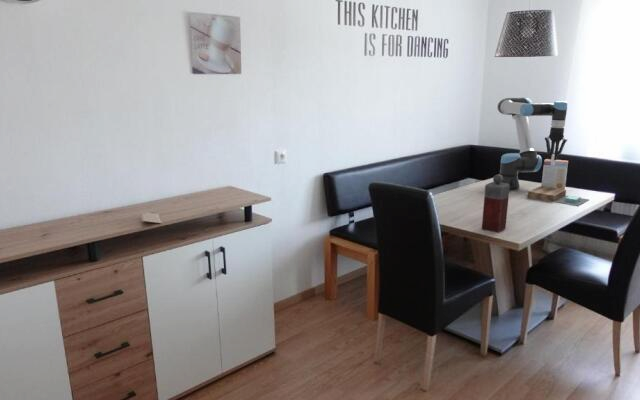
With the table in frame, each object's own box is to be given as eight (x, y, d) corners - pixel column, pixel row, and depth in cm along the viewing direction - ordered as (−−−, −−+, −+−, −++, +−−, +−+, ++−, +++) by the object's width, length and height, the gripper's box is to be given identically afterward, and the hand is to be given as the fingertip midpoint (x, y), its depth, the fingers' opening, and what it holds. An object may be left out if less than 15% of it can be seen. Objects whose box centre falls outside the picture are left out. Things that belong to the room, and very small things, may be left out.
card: (575, 199, 287) (575, 202, 288) (580, 197, 294) (580, 200, 294) (565, 198, 292) (564, 201, 292) (570, 195, 298) (570, 198, 298)
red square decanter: (507, 227, 244) (512, 173, 237) (498, 232, 236) (503, 177, 229) (490, 223, 250) (495, 171, 243) (481, 229, 242) (485, 174, 235)
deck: (527, 197, 302) (528, 191, 301) (539, 192, 316) (540, 186, 315) (553, 201, 292) (554, 195, 291) (565, 196, 305) (566, 190, 304)
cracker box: (564, 191, 318) (568, 160, 312) (563, 193, 313) (567, 161, 307) (541, 188, 325) (545, 158, 320) (540, 190, 320) (544, 159, 315)
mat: (553, 201, 292) (553, 201, 291) (565, 196, 305) (565, 195, 305) (578, 206, 282) (578, 205, 282) (589, 199, 296) (589, 199, 296)
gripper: (544, 126, 293) (539, 164, 300) (566, 128, 285) (561, 167, 291) (548, 125, 298) (544, 162, 305) (571, 127, 290) (565, 165, 296)
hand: (552, 164), depth 298 cm, fingers closed
